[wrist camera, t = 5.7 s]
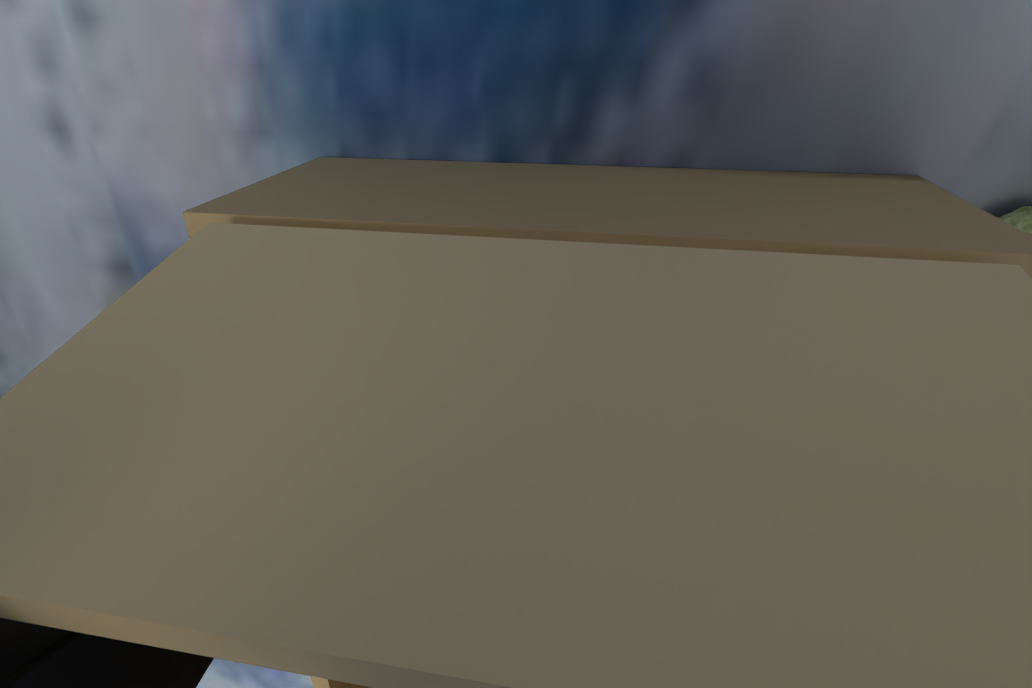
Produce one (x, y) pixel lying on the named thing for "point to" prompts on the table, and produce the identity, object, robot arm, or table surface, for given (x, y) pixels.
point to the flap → (536, 465)
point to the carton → (628, 211)
